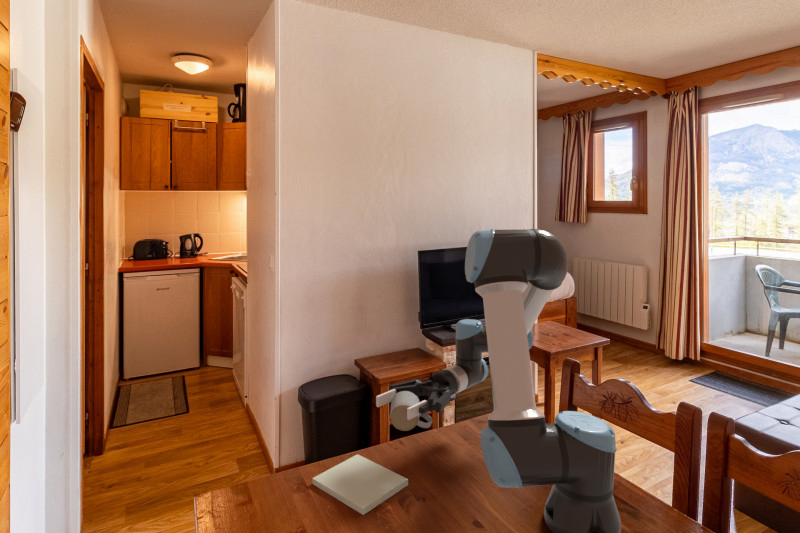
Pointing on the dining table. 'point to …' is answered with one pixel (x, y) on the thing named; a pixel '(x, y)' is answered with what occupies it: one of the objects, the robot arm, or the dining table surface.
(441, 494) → the dining table surface
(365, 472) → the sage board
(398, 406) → the ceramic mug
